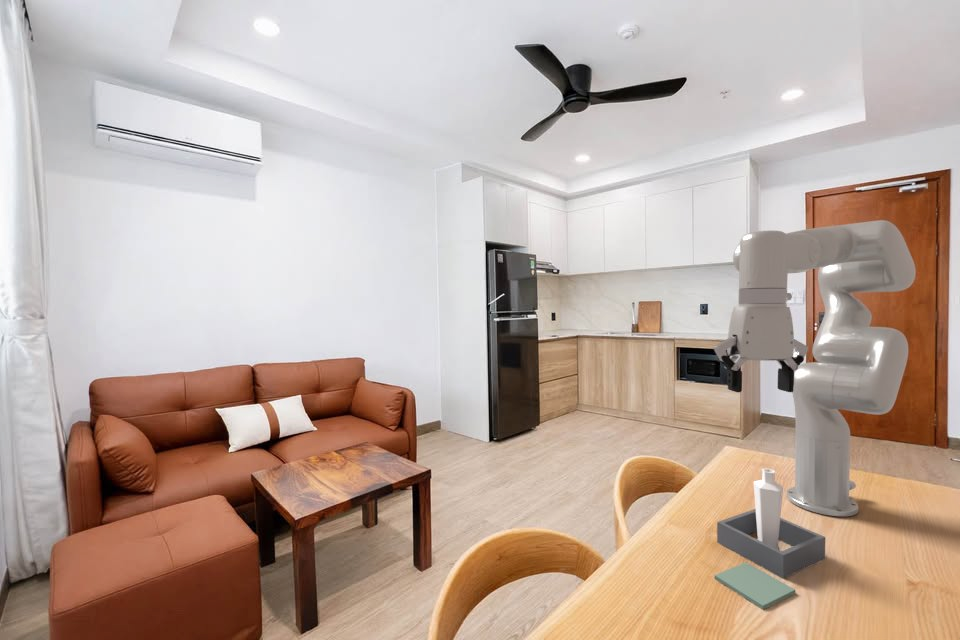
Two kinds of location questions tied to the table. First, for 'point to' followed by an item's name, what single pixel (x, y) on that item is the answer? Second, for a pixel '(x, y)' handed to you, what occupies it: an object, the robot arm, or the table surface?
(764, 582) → the mat
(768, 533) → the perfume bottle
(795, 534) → the bin
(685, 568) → the table surface
